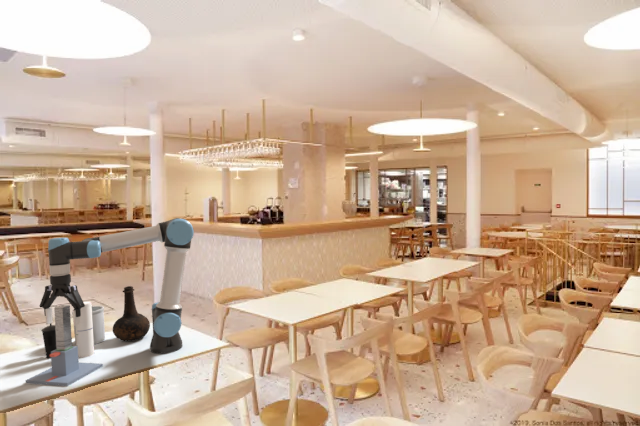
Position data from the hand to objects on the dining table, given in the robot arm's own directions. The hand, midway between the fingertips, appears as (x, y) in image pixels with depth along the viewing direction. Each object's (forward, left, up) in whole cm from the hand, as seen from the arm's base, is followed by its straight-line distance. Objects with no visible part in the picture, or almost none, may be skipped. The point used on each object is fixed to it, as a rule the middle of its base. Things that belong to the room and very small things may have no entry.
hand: (63, 324), depth 182 cm
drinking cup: (+24, -18, -22) cm, 37 cm away
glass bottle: (+1, -46, -22) cm, 51 cm away
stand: (0, 0, -22) cm, 22 cm away
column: (0, 0, -14) cm, 14 cm away
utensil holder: (+21, -39, -22) cm, 49 cm away
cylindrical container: (+9, -22, -22) cm, 32 cm away
